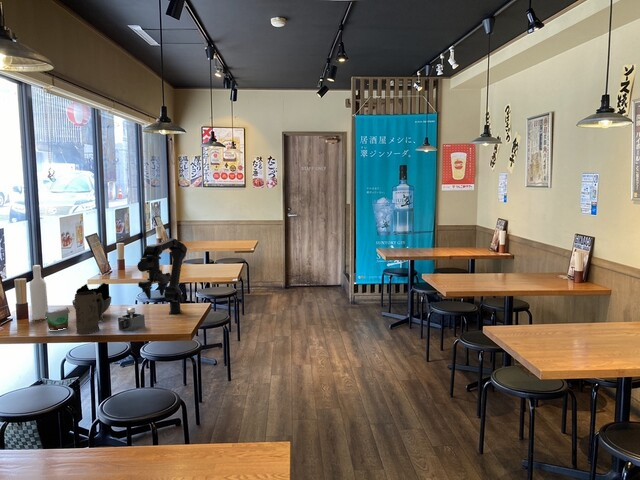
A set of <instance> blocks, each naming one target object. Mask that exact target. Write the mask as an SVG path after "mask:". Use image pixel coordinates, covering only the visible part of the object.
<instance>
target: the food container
mask: <svg viewBox="0 0 640 480" xmlns="http://www.w3.org/2000/svg"><path fill="white" fill-rule="evenodd" d="M69 314H70V308H69V307H67V306H66V308H65V309H61V310H60V309H59V310H54V311H52V312H50V311H48V312H46V313H45V316H46V317H47V319H46V320H47V325H48V326H47V327H48V330H49V329H50V330H58V329H63V328H67V327H68V328H69ZM68 328H67V329H68Z"/></svg>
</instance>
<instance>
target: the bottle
mask: <svg viewBox="0 0 640 480" xmlns="http://www.w3.org/2000/svg"><path fill="white" fill-rule="evenodd" d="M41 269H42V267H41V265H40V264H35V265H32V274H33V279H32V280H31V281H30V283H29V290H30V301H31V302H30V303H31V312H32V315H31V316H32V319H33V318H34V319H40V318H46V316H45V313H46V312H49V305H48V294H47V293H48V291H47V283H46V281H45V279H44V278H43V277H42V272H41Z"/></svg>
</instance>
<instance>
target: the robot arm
mask: <svg viewBox="0 0 640 480" xmlns="http://www.w3.org/2000/svg"><path fill="white" fill-rule="evenodd" d="M165 250H169V251H170V252H171V253H170V255H171V257H172V265H171V266H172V267H171V273H170V272H166V273H163V270H162V269H161V268H160V267H161V266H160V265H161V264H160V260H161V259H162V256H160V255H161V254H163V252H164V251H165ZM187 252H188V247H187V246H186V245H185V244H184V243H182V241H179V240H178V239H177V238H167V239H166V240H163V241H161V242H159V243H156V244H147V245H146V247H145V249H144V250H143V254H142V257H141V258H140V259H139V262H138V263H137V269H138V271H140V272H141V273H143V272H146V273H147V274H148V277H147V278H146V280H140V281H138V285H137V286H138V287H139V288H140V289H142V291H143V292H144V294H145V296H146V297H147V299H148V300H151V296H152V295H151V294H152V292H151V291H152V289H153V284H157V287H158V289H159V294H160V296H164V299H165V303H169V312H168V314H169V315H177V314H182V308H181V303H183V302H184V300H185V297H184V296H183V295H182V293H181V288H180V285H179V284H180V277H181V271H182V265H183V260H184V259H185V257H186V255H187ZM167 285H168V286H167Z"/></svg>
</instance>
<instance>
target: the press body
mask: <svg viewBox="0 0 640 480" xmlns="http://www.w3.org/2000/svg"><path fill="white" fill-rule="evenodd" d="M132 316H133V318H130V314H127V313H126V314H123V315H121V316H118V317H117V322H118V323H117V324H118V331H126V332H135V331H138V330H139V329H144V328H145V327H146V319H145V314H143V313H136V312H135V313H134V314H132Z"/></svg>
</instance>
